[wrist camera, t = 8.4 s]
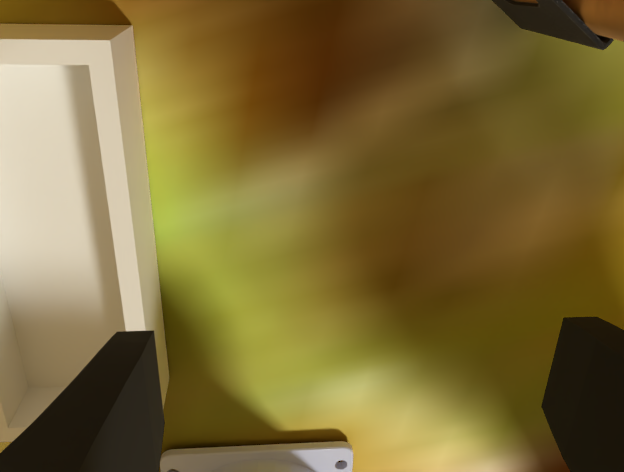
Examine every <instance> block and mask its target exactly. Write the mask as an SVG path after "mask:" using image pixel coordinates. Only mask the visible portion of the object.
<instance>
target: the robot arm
mask: <svg viewBox="0 0 624 472" xmlns="http://www.w3.org/2000/svg"><path fill="white" fill-rule="evenodd" d="M542 409H543V411H544V414H545V416H546V419H547V421H548V424H549V426H550V429H551V431H552V434H553V436H554V439H555V441H556V443H557V445H558V448H559V450H560V452H561V454H562V457H563V459H564V460H565V462H566V464H567V466H568V468H569V469H570V471H571V472H624V330H622V329H620V328H618V327H616V326H614V325H612V324H611V323H609V322H606V321H604V320H602V319H600V318H598V317H573V318H563V322H562V326H561V330H560V334H559V338H558V342H557V346H556V350H555V354H554V358H553V362H552V366H551V370H550V374H549V378H548V382H547V386H546V390H545V394H544V398H543V402H542ZM164 424H165V422H164V413H163V405H162V396H161V387H160V379H159V370H158V361H157V352H156V344H155V335H154V330H152V331H119V332H116V333H115V334H114V335H113V336H112V337H111V338H110V339H109V340H108V341H107V342H106V344H105V345H104V346H103V347H102V348H101V349H100V350H99V351H98V353H97V354H96V355H95V356H94V357H93V358H92V359H91V360H90V362H89V363H88V364H87V365H86V366H85V367H84V368H83V369H82V371H81V372H80V373H79V374H78V375H77V376H76V377H75V378H74V379H73V381H72V382H71V383H70V384H69V385H68V386H67V387H66V388H65V389H64V390H63V391H62V392H61V393H60V394H59V395H58V397H57V398H56V399H55V400H54V401H53V402H52V403H51V404H50V405H49V406H48V407H47V408H46V409H45V410H44V411H43V412H42V413H41V414H40V415H39V416H38V417H37V418H36V419H35V420H34V422H33V423H32V424H31V425H29V426H28V427H27V428H26V429H25V430H24V431H23V432H22V433H21V434H20V435H19V436H18V437H17V438H16V439H15V440H14V441H13V442H12V443H11V444H10V445H9V446H8V447H6V448H5V449H4V450H3V451H2V452H1V453H0V472H159V466H160V470H161V472H352V466H353V451H352V446H351V445H350V444H349V443H347V442H345V441H334V442H313V443H292V444H271V445H250V446H230V447H209V448H188V449H171V450H167V451H165V452H164V453H163V454H162V455H161V450H162V441H163V432H164ZM160 458H161V460H160ZM341 460H343V462H338V461H341ZM170 469H176V470H175V471H174V470H170Z"/></svg>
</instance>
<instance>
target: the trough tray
mask: <svg viewBox="0 0 624 472" xmlns="http://www.w3.org/2000/svg"><path fill="white" fill-rule="evenodd" d="M152 330H154V335H155V344H156V352H157V361H158V370H159V379H160V387H161V396H162V405H163V408H164V403H165V398H166V393H167V388H168V383H169V378H170V377H169V368H168V358H167V349H166V339H165V330H164V320H163V311H162V301H161V292H160V282H159V273H158V263H157V254H156V244H155V234H154V225H153V215H152V206H151V196H150V187H149V177H148V168H147V158H146V149H145V139H144V130H143V120H142V111H141V101H140V92H139V82H138V73H137V63H136V54H135V44H134V35H133V25H73V24H0V442H13V441H14V440H15V439H16V438H17V437H18V436H19V435H20V434H21V433H22V432H23V431H24V430H25V429H26V428H27V427H28V426H29V425H31V424H32V423H33V422H34V420H35V419H36V418H37V417H38V416H39V415H40V414H41V413H42V412H43V411H44V410H45V409H46V408H47V407H48V406H49V405H50V404H51V403H52V402H53V401H54V400H55V399H56V398H57V397H58V395H59V394H60V393H61V392H62V391H63V390H64V389H65V388H66V387H67V386H68V385H69V384H70V383H71V382H72V381H73V379H74V378H75V377H76V376H77V375H78V374H79V373H80V372H81V371H82V369H83V368H84V367H85V366H86V365H87V364H88V363H89V362H90V360H91V359H92V358H93V357H94V356H95V355H96V354H97V353H98V351H99V350H100V349H101V348H102V347H103V346H104V345H105V344H106V342H107V341H108V340H109V339H110V338H111V337H112V336H113V335H114V334H115V333H116V332H119V331H152Z"/></svg>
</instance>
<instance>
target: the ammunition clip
mask: <svg viewBox="0 0 624 472" xmlns="http://www.w3.org/2000/svg"><path fill="white" fill-rule="evenodd" d="M492 1H493V2H494V3H495V4H496V5H497V6H498V7H499V8H501V9H502V10H503V11H504V12H505V13H506V14H507V15H508V16H509V17H510V18H511V19H512V20H513V21H514V22H515V23H516V24H517V25H518V26H519V27H520V28H522V29H526V30H530V31H534V32H537V33H541V34H545V35H549V36H552V37H556V38H560V39H564V40H567V41H571V42H575V43H579V44H582V45H586V46H590V47H594V48H597V49H601V50H604V49H606V48H607V47H608V46H609V45H610V44H611V43H612V41H613V39H616V40H620V41H624V0H492Z"/></svg>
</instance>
